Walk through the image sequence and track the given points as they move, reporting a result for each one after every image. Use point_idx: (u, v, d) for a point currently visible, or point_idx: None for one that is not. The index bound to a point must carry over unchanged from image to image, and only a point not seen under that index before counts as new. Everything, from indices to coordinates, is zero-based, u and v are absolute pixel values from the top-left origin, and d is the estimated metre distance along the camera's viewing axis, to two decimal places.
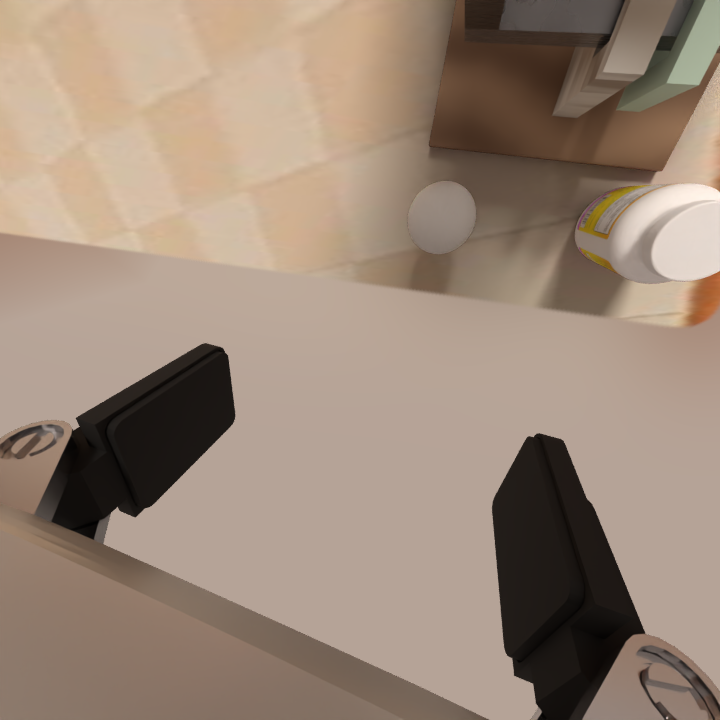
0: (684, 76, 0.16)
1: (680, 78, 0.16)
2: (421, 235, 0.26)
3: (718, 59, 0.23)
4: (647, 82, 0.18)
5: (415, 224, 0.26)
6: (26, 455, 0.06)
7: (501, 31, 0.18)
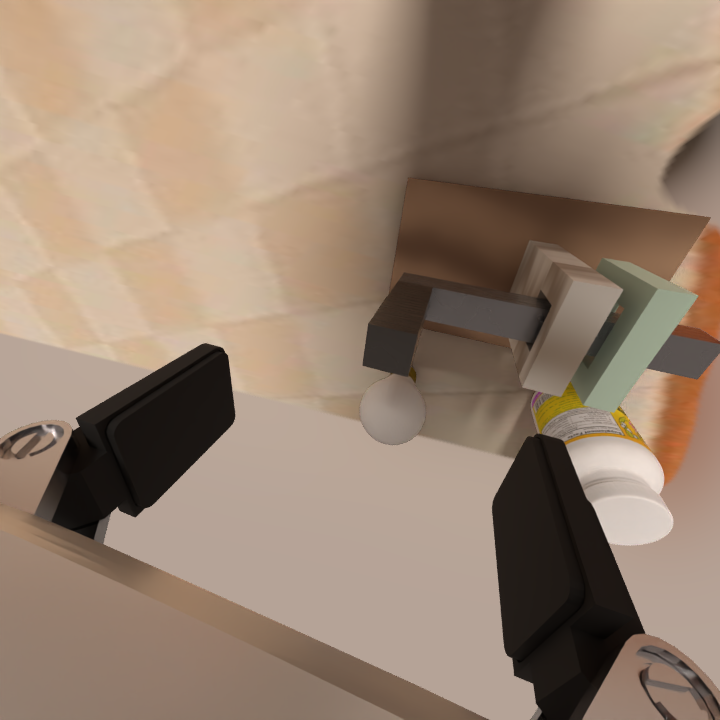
0: (599, 404, 0.16)
1: (596, 404, 0.16)
2: (370, 435, 0.26)
3: None
4: None
5: (364, 425, 0.26)
6: (26, 455, 0.06)
7: None
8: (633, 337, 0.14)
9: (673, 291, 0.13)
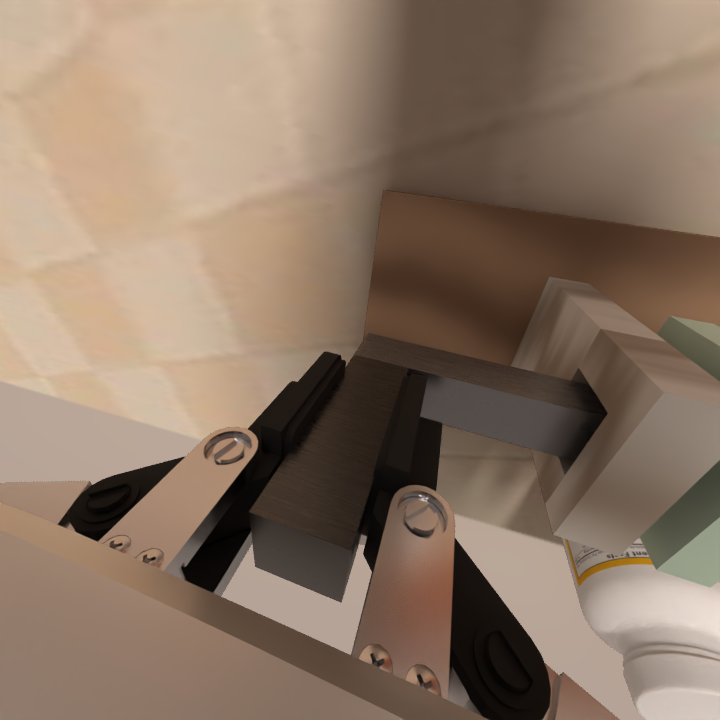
0: (685, 572, 0.10)
1: (679, 572, 0.10)
2: None
3: None
4: None
5: None
6: (219, 459, 0.06)
7: None
8: None
9: None
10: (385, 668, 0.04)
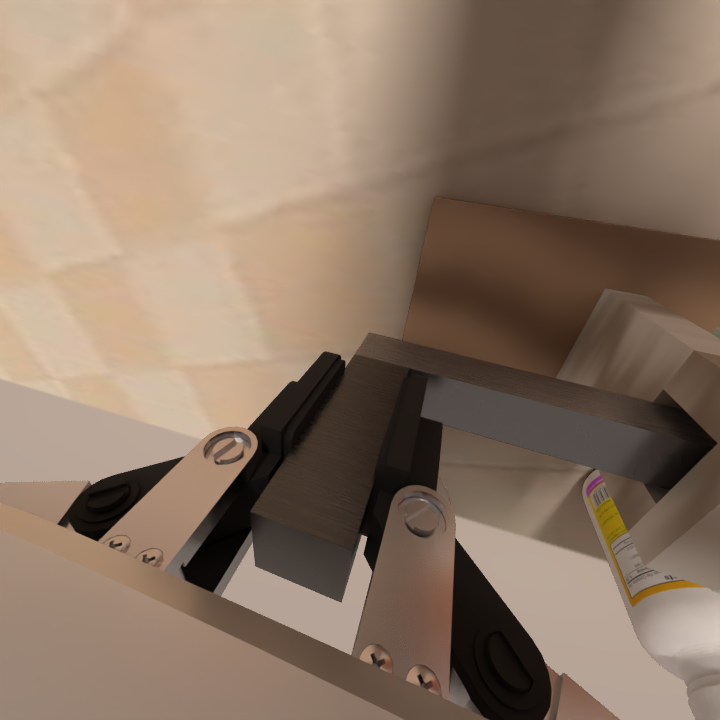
0: None
1: None
2: None
3: None
4: None
5: None
6: (219, 459, 0.06)
7: None
8: None
9: None
10: (385, 668, 0.04)
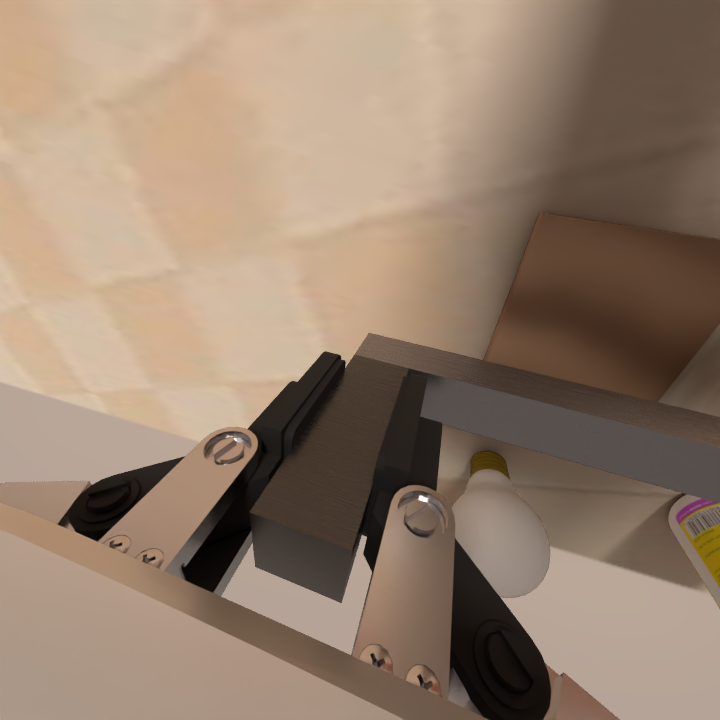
0: None
1: None
2: None
3: None
4: None
5: None
6: (219, 459, 0.06)
7: None
8: None
9: None
10: (385, 668, 0.04)
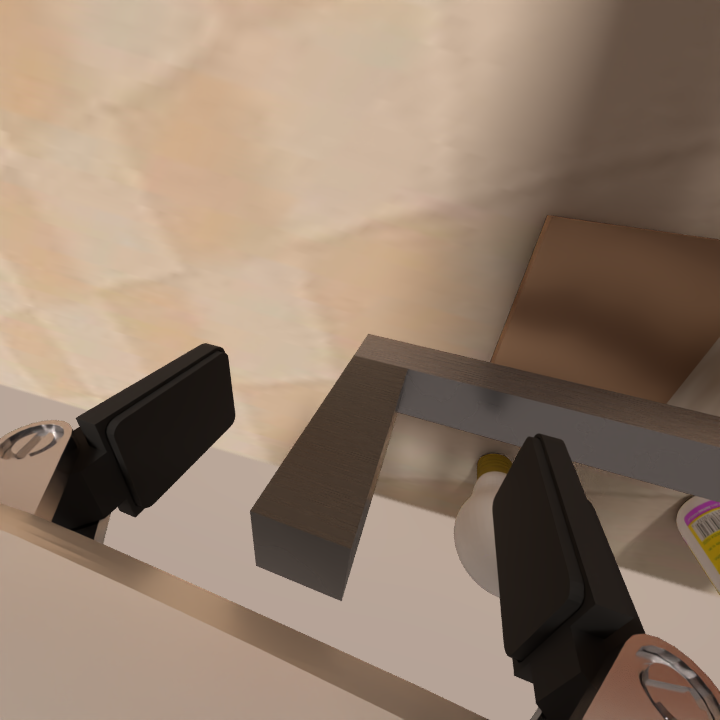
0: None
1: None
2: (479, 584, 0.18)
3: None
4: None
5: (470, 570, 0.18)
6: (26, 455, 0.06)
7: None
8: None
9: None
10: None
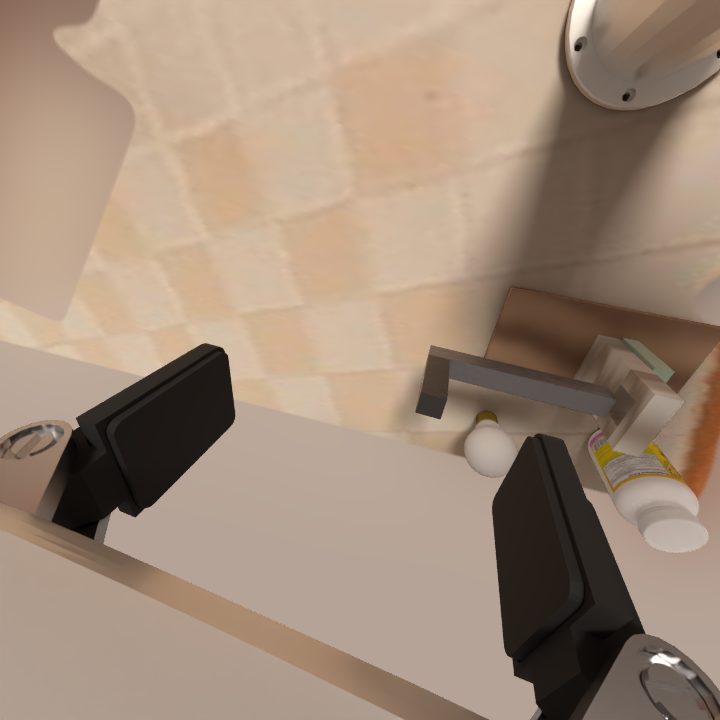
0: None
1: None
2: (477, 470, 0.36)
3: (691, 372, 0.32)
4: None
5: (472, 462, 0.36)
6: (26, 455, 0.06)
7: None
8: None
9: (662, 368, 0.27)
10: None
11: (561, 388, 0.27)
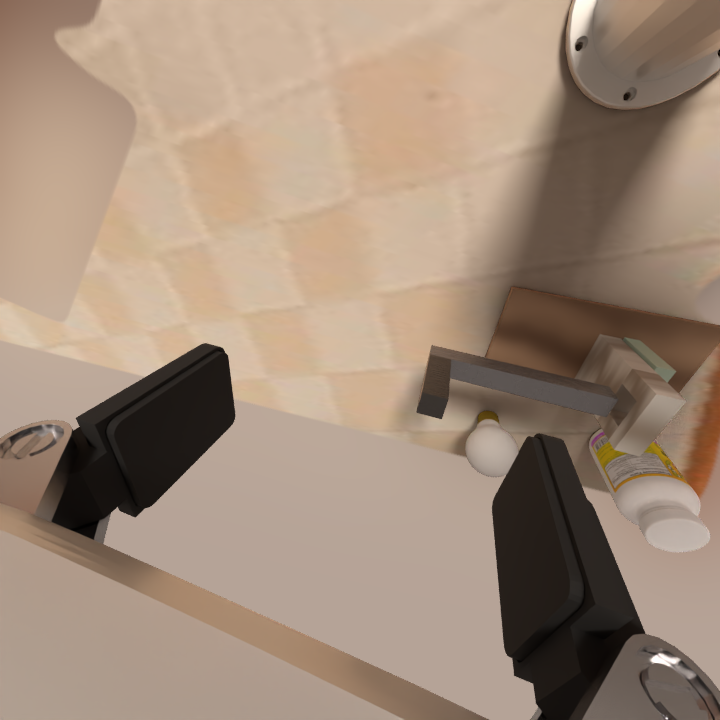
0: None
1: None
2: (478, 469, 0.36)
3: (693, 372, 0.32)
4: None
5: (474, 462, 0.36)
6: (26, 455, 0.06)
7: None
8: None
9: (664, 368, 0.27)
10: None
11: (562, 388, 0.27)
